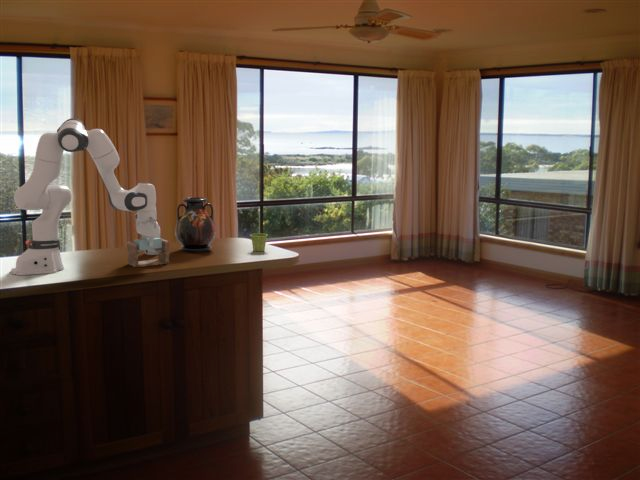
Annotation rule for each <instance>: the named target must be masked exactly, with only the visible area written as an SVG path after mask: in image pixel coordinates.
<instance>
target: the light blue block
mask: <svg viewBox="0 0 640 480" xmlns="http://www.w3.org/2000/svg"><path fill="white" fill-rule="evenodd" d="M162 239H163V238H162V237H161V238H154V241H153V246H149V245H148V242H149V238H145V239H143V238H138V239H134V243H136V244H137V246H138V251H145V250H147V249H155V248H162Z"/></svg>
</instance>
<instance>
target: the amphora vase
mask: <svg viewBox="0 0 640 480" xmlns="http://www.w3.org/2000/svg"><path fill="white" fill-rule="evenodd" d="M182 202H183V203H179V204H178V205H177V207H176V224H175V228H174V235H175V238H176V240H177V241H178V242H179V244H180V245H181V246H180V247H179V249H180V250H181V252H184V253H192V254H193V253H196V254H197V253H205V252H209V251H211V250H212V246H211V244H212V242H213V241H214V239H215V238H216V234H217V231H216V230H217V229H216V225H215V224H216V223H215V222H214V206H213V205H212V204H211V203H209V202H208V198H206V197H194V196H193V197H185V198H183V199H182ZM206 202H208V203H206ZM207 206H209V207H210V214H209V213H208V212H207V211H206V207H207ZM181 207H184V211H183V212H182V214H181V215H180V208H181Z"/></svg>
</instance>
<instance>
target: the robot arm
mask: <svg viewBox="0 0 640 480" xmlns="http://www.w3.org/2000/svg"><path fill="white" fill-rule="evenodd" d="M35 150H36V151H35V158H34V163H33V168H32V169H33V170H32V171H31V174H30V176H29V177H28V179H27V180H26V182H24V184H22V186H20V187H19V188H17V189H16V190H15V193H14V195H13V200H14V204H15V205H16V207H17V208H18V209H19V210H22V211H23V210H25V211H38V210H42V211H41V213H40V215H39V216H38V217H37V218H36V219H34V220H33V221H32V223H31V231H32V233H31V234H32V239H31V240H26V241H25V244H26V245H27V246H28V248H27V249H26V250H25V251H24V252H23V253H21V254H20V255H19V256H17V259H16V261H15V267H12V268H11V269H10V273H11V274H12V273H13V274H12V275H15V274H16V275H15V276H28V275H29V276H30V275H41V274H42V275H44V274H54V273H56V272H59V271H61V270H62V271H63V270H64V269H65V268H64V264H63V261H62V256H61V240H60V237H59V224H60V223H59V222H60V218H61V216H62V213H63V211H64V210H65V209H66V208H67V207H68V206H69V205H70V203H71V202H72V190H70V188H69V187H68V185H67V186H66V185H64V184H57V183H56V184H55V183H54V184H51V183H53V182H54V181H55V180H56V179H58V178H59V176H60V175H61V169H62V163H63V154H64V152H67V153H75V152H81V151H85V150H86V151H88V153H89V155H90V156H91V159H92V160H93V162H94V164H95V166H96V169H97V171H98V174H99V177H100V179H101V181H102V183H103V185H104V187H105V189H106V192H107V195H108V201H109V205H110V206H111V207H112V209H114V210H116V211H127V212H136V211H137V212H136V213H135V214H134V219H135V228H136V229H135V230H136V233H137V234H139V235H141V239H145V238H147V237H149V242H148V245H149V246H153V241H154V238H158V237H159V227H160V226H159V227H158V225H159V223H158V222H157V220H158V218H157V217H158V215H157V206H156V205H157V193H156V192H157V191H156V187H155V185H154V184H152V183H149V182H138V183H137V185H135V186H133V188H131V189H128V190H127V189H125V188H122V186H121V185H120V183H119V181H118V179H117V176H116V174H115V169H116V168H117V167H118V166H119V164H120V160H121V159H120V155H119V153H118V151H117V149H116V147H115V145H114V144H113V141H112V140H111V138H109V136H108V135H107V133H105V131H104V130H103V129H101V128H92V129H90V130H88V129H87V127H86V126H85V124H84V122H83V121H82V120H80V119H78V118H74V117H73V118H68V119H66V120H65V121H64V122H62V124H61V125H60V126H59V127H58V128H57V130H56V132H45V133H43V134H42V135H40V137H39V140H38V142H37V146H36V149H35Z"/></svg>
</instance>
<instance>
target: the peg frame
mask: <svg viewBox="0 0 640 480" xmlns="http://www.w3.org/2000/svg"><path fill="white" fill-rule="evenodd" d="M126 244H127V264H128V265H129V266H132V267H133V268H139V267H142V268H143V267H149V266H158V265H159V264H160V265H167V264H170V245H169V240H166V239H164V238H162V248H158V249H155V252H156V251H157V252H158V253H159V254H158V258H156V259H149V260H146V259H145V260H140V261H139V255H142V254H143V252H142V251H141V250H138V246H137V244H136V243H134V242H133V241H127V242H126ZM160 265H159V266H160Z"/></svg>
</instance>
